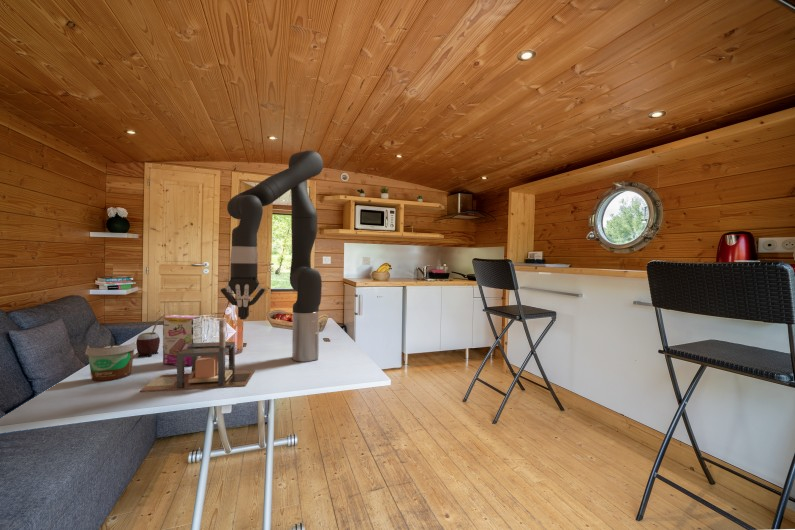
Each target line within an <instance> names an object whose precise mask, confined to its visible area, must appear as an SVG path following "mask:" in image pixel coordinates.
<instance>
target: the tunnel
mask: <svg viewBox="0 0 795 530" xmlns="http://www.w3.org/2000/svg"><path fill="white" fill-rule="evenodd" d="M235 346H236V342H235V341H225V348H219V341H217V342H216V341H214V342H202V343H193V344H191V345H190V346H188V347H187V349H183V350H182V351H180V352H179V353H177V365H176V373H169V374H161V375H159V376H158V377H156V378H155V379H154V380H152V381H150V382H149V383H148V384H146V385H145V386H144V387H142V388H141V389H140V390H139V393H149V392H151V393H152V392H165V391H167V392H168V391H185V390H202V389H217V388H218V389H219V388H220V389H221V388H222V389H223V388H235V387H238V388H239V387H240V388H241V387H246V386H247V385H248V383H249V382H250V380H251V379H252V377H253V375H254V374H255V373H256V370H255V369H253V370H252V369H251V370H236V369H235V368H236V367H235V365H236V363H235V361H236V347H235ZM227 353H228V370H233V373H232V374H231V376H230V377H229V378H228V379H227V380H226V381H225V370H226V354H227ZM198 356H218V381H216V382H197V383H188V375H189V374H191V373H192V372H193V371H194V370H195V361H196V360H197V359H198ZM184 357H192V366H191V372H189V373H187V372H186V373H185V366H184Z"/></svg>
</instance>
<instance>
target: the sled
mask: <svg viewBox="0 0 795 530" xmlns="http://www.w3.org/2000/svg"><path fill="white" fill-rule="evenodd" d="M218 323H219V325H218V329H219V330H218V333H219V334H218V335H219V336H218V342H219V348H225V342H226V320H225V319H219V321H218ZM190 373H191V374H189V375H188V383H197V382H216V381H218V374H217V375H216V376H215V377H205V378H195V370H194V371H193V372H192V371H191V372H190ZM232 373H233V370H229V369H225V381H226V380H227V379H228V378H229V377H230V376H231V374H232Z"/></svg>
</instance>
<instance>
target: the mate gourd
mask: <svg viewBox="0 0 795 530" xmlns="http://www.w3.org/2000/svg"><path fill="white" fill-rule="evenodd" d="M165 316H166V315H165V314H163V315H162V316H159V318H157V320H156V321H155V323H154V326H153V329H152V330H151V331H150V332H143V333H139V335H138V336H137V338H136V342H135V344H136V347H137V348H136V351H137V354H138V355H137V357H138V358H141V357H149V358H151V357H153V356H154V355H158V354H159V349H160V344H161V343H160V342H161V338H160V335H159V334H158V333H157V332H155V330H156V328H157V325H158V323H159V322H160V320H161V319H163V317H165Z"/></svg>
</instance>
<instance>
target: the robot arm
mask: <svg viewBox="0 0 795 530" xmlns="http://www.w3.org/2000/svg"><path fill="white" fill-rule="evenodd" d="M323 161H324V160H323V157H322V156H321V154H320V153H318V152H317V151H314V150H305V151H301V152H300V151H299V152H295V153H292V155H291V156H290V157H289V160H288V168H286V169H284V170H281V171H279V172H277V173H274V174H272V175H271V176H268V177H266V178H265V179H263V180H262V181H260V182H258V183H257V184H256V185H254V186H253V187H251V188H249V189H247V190H244V191H243V192H240V193H238V194H236V195H234V196H232V198H230V200H229V201H228V203H227V206H226V208H227V210H226V211H227V213H228V215H229V216H230V217H232V218H233V219H235V220H239V224H238V225H237V226H236V227H234V228H233V229H232V231H231V250H230V258H229V262H230V269H229V270H230V271H229V273H230V274H229V275H230V276H229V281H228V285H226V286H225V287H223V288H221V289H220V292H221V294H223V296H224V298H225V299H227V301H228V302H229V303H230V304H231V305H232V306H235V307H237V308H238V309H237V317H238V318H239V319H240V320H247V318H248V317H249V316H250V307H251V306H254V305H256V303H257V302H258V301H259V299H260V298H261V297H262V296H263V295H264V294H265V292H266V291H267V290H266V288H265V287H263V286H261V285H260V282H259V280H258V266H259V265H258V262H259V261H258V259H259V258H258V257H259V256H258V232H259V229H260V225H261V222H262V217H263V211H264V208H263V207H266V206H269V205H271V204H273V203H274V202H275V201H277V200H278V199H280V197H282V196H283V195H285V194H286V193H287V192H288V191H290V199H291V203H290V204H291V217H290V218H291V219H290V221H291V222H290V223H291V227H290V228H291V229H290V230H291V231H290V232H291V262H290V271H289V284H290V286H291V288H292V289H293V290H294V291H295V292H296V300H295V302H294V303H293V304H292V340H291V341H292V348H291V349H292V360H293V361H295V362H312V361H316V360H319V353H320V352H319V351H320V350H319V349H320V348H319V347H320V346H319V342H320V341H319V337H320V336H319V335H320V334H319V333H320V331H319V323H320V322H319V319H320V318H319V317H320V315H319V314H320V313H319V310H320V309H319V308H320V305H321V301H322V290H323V289H322V285H323V283H322V277H321V274H320V271H318V270H317V269H316V268H312V263H311V260H312V259H311V256H312V249H313V247H314V246H315V245H314V244H315V242H316V238H317V234H318V214H317V213H318V212H317V210H316V208H315V206H314V204H313V202H312V200H311V198H310V196H309V192H308V180H310V179H311V178H314V177H317V176H319V175H320V174H321V173H322V171H323V169H324V162H323ZM255 291H256V294H255V296H254V297H253V298H252V297H251V295H252V294H254V292H255ZM231 292H233V293H234V294H235V297H234V295H233V293H231ZM251 298H252V299H251Z"/></svg>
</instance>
